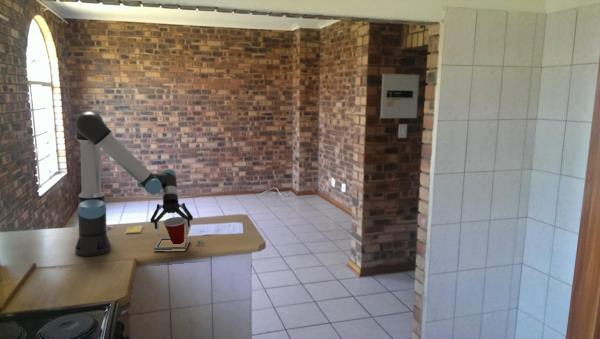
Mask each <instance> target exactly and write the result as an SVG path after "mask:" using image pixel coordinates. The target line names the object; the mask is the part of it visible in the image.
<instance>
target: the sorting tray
mask: <svg viewBox="0 0 600 339" xmlns="http://www.w3.org/2000/svg"><path fill="white" fill-rule="evenodd" d="M184 239H187V241H186V243H185V246H184V247H159V245H160V243H161V241H162V240H171V239H170V237H160V238H159V240H158V241H157V243H156V244H155V246H154V247H153V248H154V249H153V251H154V250H172V249H186V247H187V244H188V241H189V239H190V237H184ZM187 248H188V247H187Z"/></svg>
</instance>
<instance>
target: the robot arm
mask: <svg viewBox="0 0 600 339" xmlns="http://www.w3.org/2000/svg"><path fill="white" fill-rule="evenodd" d="M75 128H76V130H75V131H76V140H77V142H79V146H80V148H79V149H80V178H81V181H80V182H81V183H80V185H81V192H80V193H78V196H77V197H78V206H77V217H78V222H77V223H78V239H77V242H76V245H75V254H76V255H77V256H81V257H97V256H101V255H104V254H105V255H106V254H107V253H109V252H110V251H111V250H112V244H111V241H110V239H109V237H108V234H107V206H106V201H105V200H106V199H105V197H106V196H105V193H104V192H103V190H102V169H101V168H102V167H101V160H102V159H101V149H102V150H103V151H104V152H105V153H106V154H107V155H108V156H109V157H110V158H111V159H113V160H114V162H116V163H117V164H118V165H119V166H120V167H121V168H122V169H123V170H124V171H125V172H127V174H128V175H130V176H131V177H132V178H133V179H134V180H135V181H136V184H137V185H136V186H137V187H138V188H142V189H144V190H145V191H146V192H147V193H148V194H149V195H150V194H151V195H157V194H158V193H160V192H161V193H162V204H159V203H157V205H156V208H155V211H154V213H153V214H152V216H151V218H150V223H151V224H154V230H156V231H157V237H159V236H160V222H159V221H160V220H161V219H162V218H163V217H164V216H165V215H166V214H175V213H176V214H177V215H178V216H179V217H183V218H185V219H186V221H185V225H184V226H185V234H187V235H188V234H189V228H190V226H191V221H192V222H193V219H194V216H193V215H192V213H191V212H190V211H189V209H188V208H187V206H186V204H185V203H184V202H183V203H181V204H180V203H179V196H178V194H179V193H178V184H177V174H176V172H175V170H174V169H170V168H167V169H163V170H162V171H161V172H160V173H152V172H151V171H150V170H149V169H148V168H147V167H146V166H145V165H144V164H142V162H141V161H140V160H138V159H137V157H136V156H135V155H133V153H131V151H129V149H127V148H126V147H125V146H124V145H123V144H122V143H121V142H120V141H119V140H118V139H117V138H116V137H115V136H114V135H113V131H112V130H111V129H110V128H109V127H108V126H107V125H106V123H105V122H104V121H103V118H102V116H101V115H100V114H99V113H98V112H96V111H93V110H92V111H91V110H85V111H83V112H81V113H80V114H78V115H77V117H76V119H75ZM161 209H163V210H162V211H161V212H160V211H159V210H161ZM181 209H182V210H181ZM159 212H160V213H159ZM158 214H159V215H158ZM157 215H158V216H157Z"/></svg>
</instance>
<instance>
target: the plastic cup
mask: <svg viewBox="0 0 600 339" xmlns="http://www.w3.org/2000/svg"><path fill="white" fill-rule="evenodd" d="M185 221H186V219H185V218H183V217H181V216H173V217H170V218H166V219H165V220H163V225H164V226H165V229H166V231H167V234H168V238H170V239H171V241H172V243H173V244H181V243H183V242H184V238H185V226H186V225H185Z"/></svg>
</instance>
